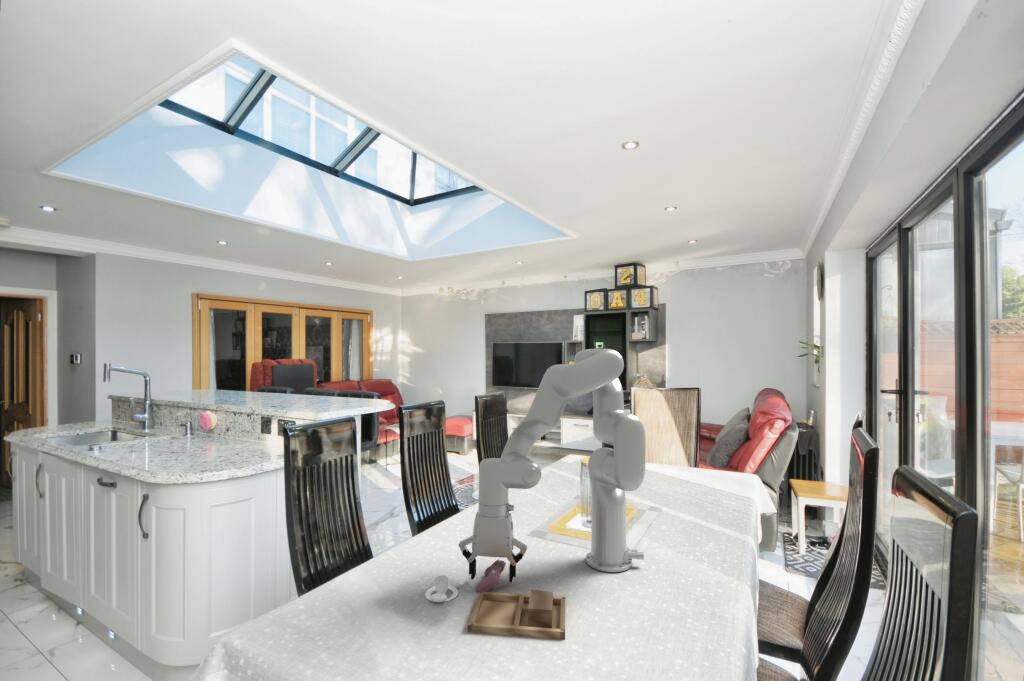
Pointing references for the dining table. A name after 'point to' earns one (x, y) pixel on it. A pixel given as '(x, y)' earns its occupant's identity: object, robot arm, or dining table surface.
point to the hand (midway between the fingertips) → (492, 578)
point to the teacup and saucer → (441, 590)
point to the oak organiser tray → (513, 616)
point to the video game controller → (491, 576)
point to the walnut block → (540, 609)
